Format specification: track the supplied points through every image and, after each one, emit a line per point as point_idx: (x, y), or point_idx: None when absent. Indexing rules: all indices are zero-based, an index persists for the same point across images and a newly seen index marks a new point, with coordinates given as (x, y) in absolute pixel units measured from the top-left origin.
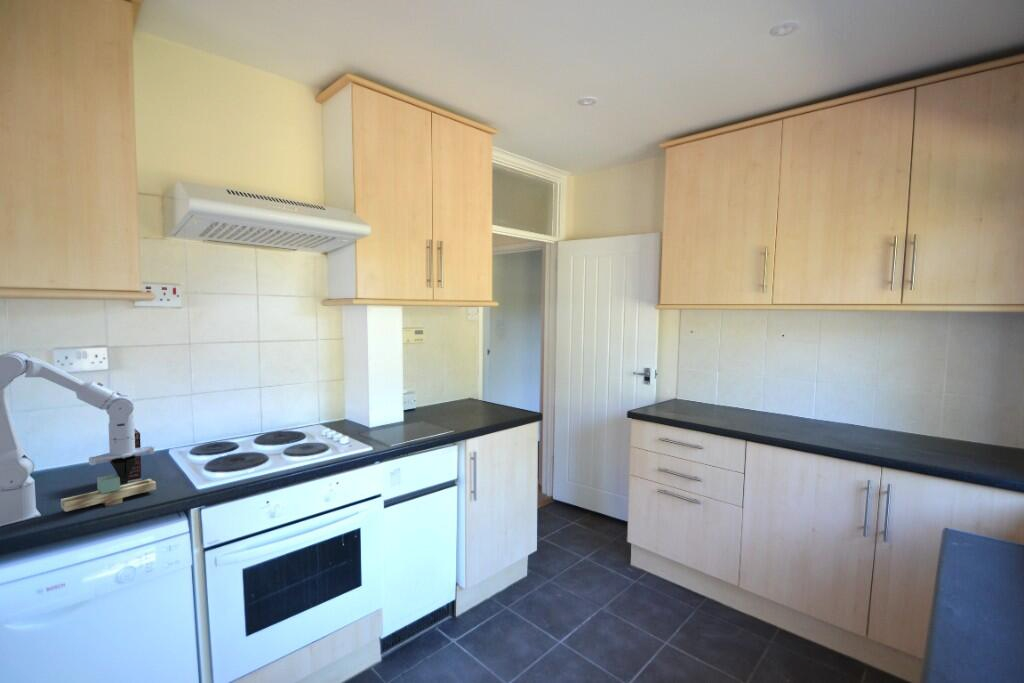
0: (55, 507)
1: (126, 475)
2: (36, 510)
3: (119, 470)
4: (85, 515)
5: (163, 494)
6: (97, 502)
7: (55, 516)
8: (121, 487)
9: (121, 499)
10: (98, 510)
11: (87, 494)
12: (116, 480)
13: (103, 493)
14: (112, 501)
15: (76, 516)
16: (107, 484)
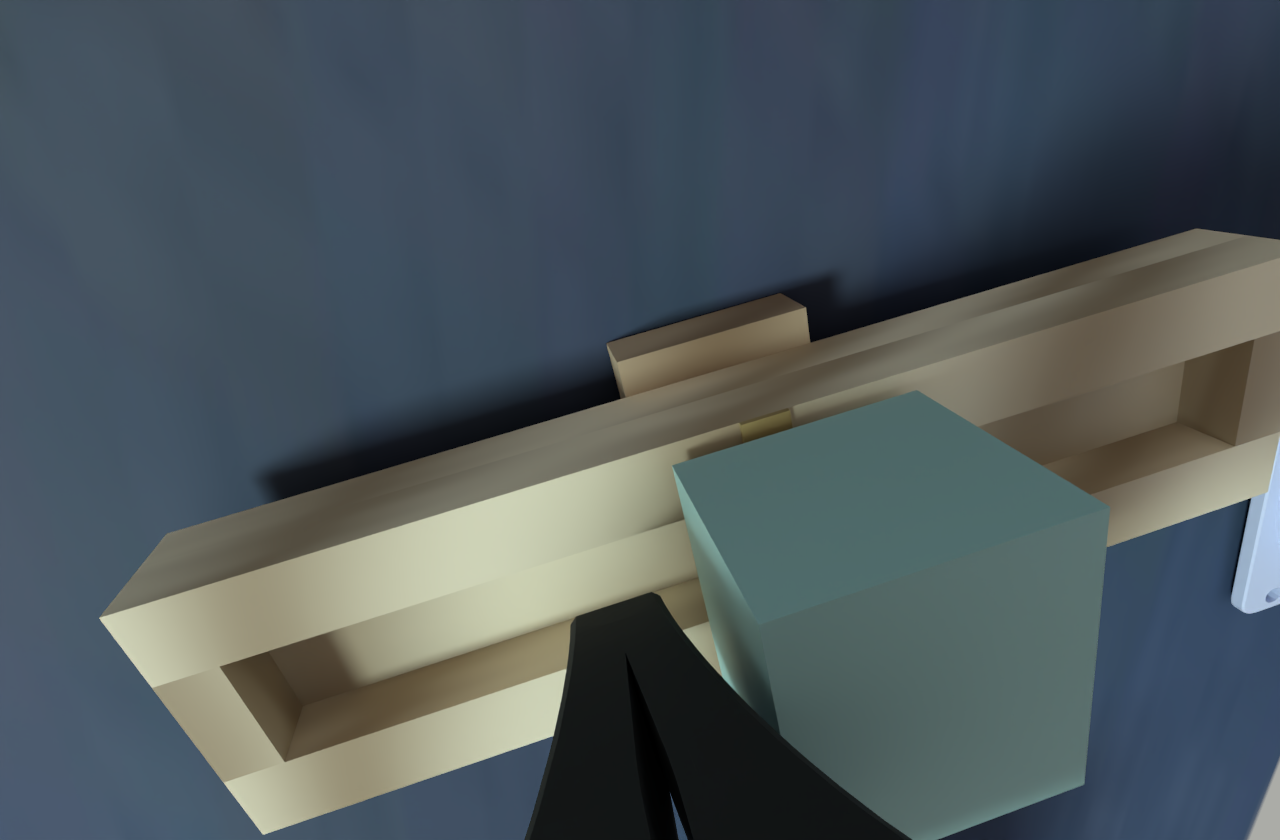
0: (1119, 573)
1: (612, 724)
2: (1267, 524)
3: (842, 825)
4: (1003, 86)
5: (52, 379)
6: (905, 321)
7: None
8: None
9: (625, 357)
10: (864, 198)
11: None
12: (797, 564)
13: None
14: (731, 323)
15: (1075, 126)
16: (930, 486)
